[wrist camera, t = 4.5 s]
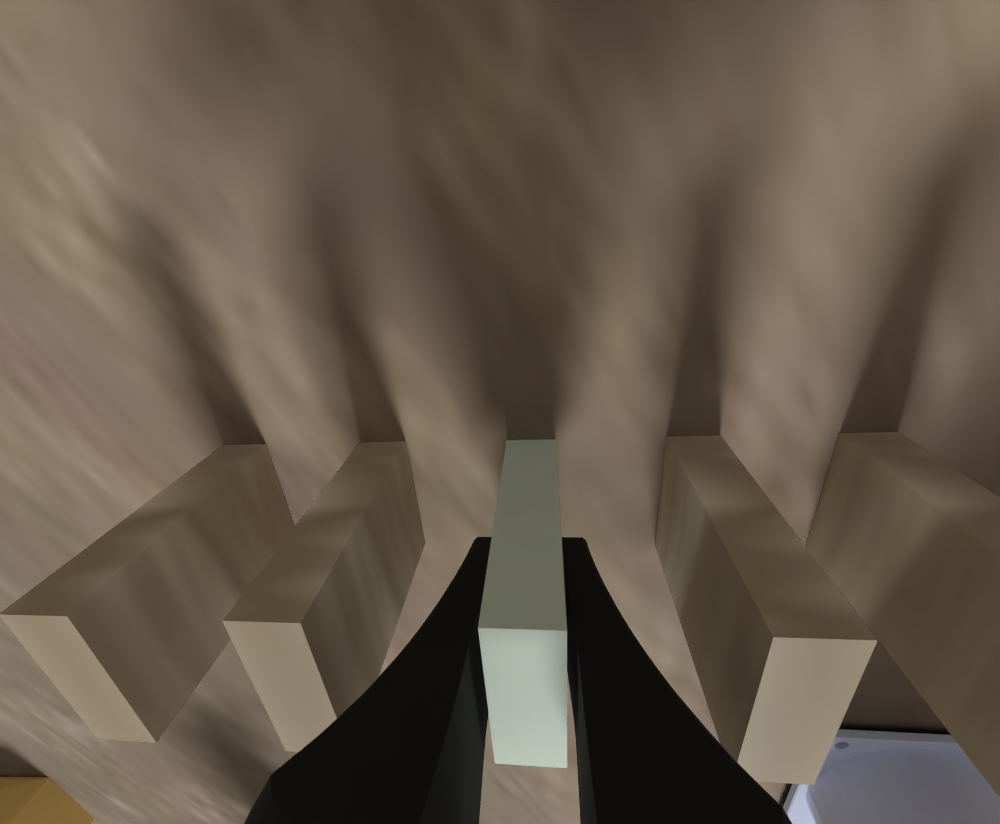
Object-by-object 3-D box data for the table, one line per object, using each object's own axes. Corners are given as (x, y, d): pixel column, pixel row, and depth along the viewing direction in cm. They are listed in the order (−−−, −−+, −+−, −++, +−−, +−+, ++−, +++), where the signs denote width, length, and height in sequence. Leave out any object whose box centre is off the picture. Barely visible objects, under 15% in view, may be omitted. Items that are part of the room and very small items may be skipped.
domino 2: (405, 441, 14) (300, 623, 8) (424, 543, 16) (350, 755, 10) (360, 442, 15) (221, 620, 8) (384, 542, 17) (286, 751, 10)
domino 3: (555, 438, 14) (567, 630, 8) (557, 544, 16) (567, 768, 10) (506, 439, 14) (477, 627, 8) (513, 543, 16) (494, 763, 10)
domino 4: (720, 435, 13) (878, 640, 7) (702, 545, 15) (813, 784, 9) (666, 436, 14) (773, 637, 7) (655, 545, 15) (732, 779, 9)
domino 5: (897, 431, 13) (1240, 651, 7) (856, 546, 15) (1091, 803, 8) (839, 433, 13) (1119, 648, 7) (805, 546, 15) (998, 796, 9)
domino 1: (266, 444, 15) (66, 616, 9) (299, 542, 17) (156, 742, 11) (223, 444, 15) (-2, 614, 9) (261, 541, 17) (97, 739, 11)
